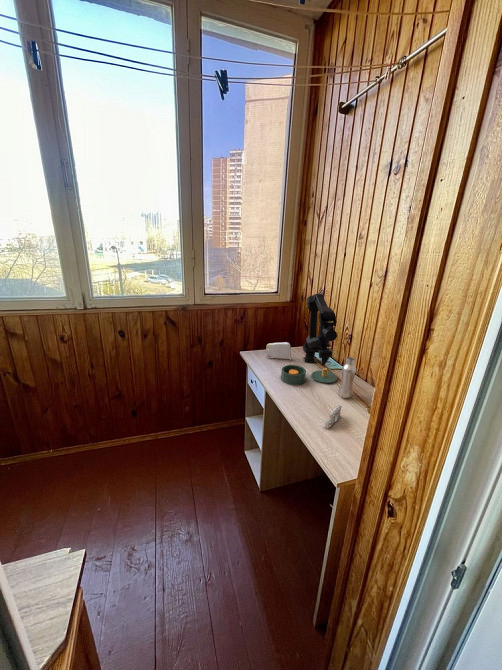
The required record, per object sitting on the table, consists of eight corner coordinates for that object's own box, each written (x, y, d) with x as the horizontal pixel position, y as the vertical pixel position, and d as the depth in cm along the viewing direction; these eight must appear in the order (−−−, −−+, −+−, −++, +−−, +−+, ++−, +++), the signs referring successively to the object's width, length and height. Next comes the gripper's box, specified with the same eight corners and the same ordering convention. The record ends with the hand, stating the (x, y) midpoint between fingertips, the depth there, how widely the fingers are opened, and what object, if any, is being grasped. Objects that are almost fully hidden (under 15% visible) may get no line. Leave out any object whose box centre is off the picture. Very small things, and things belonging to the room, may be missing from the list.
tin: (280, 373, 164) (281, 364, 162) (303, 374, 163) (304, 365, 161) (281, 384, 152) (282, 374, 150) (306, 385, 151) (307, 376, 149)
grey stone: (328, 429, 118) (330, 417, 116) (324, 427, 119) (325, 415, 117) (340, 416, 127) (342, 404, 125) (336, 414, 128) (338, 402, 126)
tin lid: (309, 371, 166) (310, 362, 164) (334, 372, 165) (335, 363, 163) (313, 383, 153) (314, 373, 151) (339, 384, 153) (340, 375, 151)
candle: (288, 375, 160) (288, 369, 158) (297, 376, 159) (297, 369, 158) (288, 380, 155) (289, 373, 154) (298, 380, 155) (298, 374, 153)
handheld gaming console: (267, 359, 185) (291, 358, 182) (267, 361, 183) (291, 360, 179) (266, 342, 182) (290, 342, 178) (265, 344, 179) (289, 343, 176)
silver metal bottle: (352, 394, 144) (358, 356, 137) (351, 401, 138) (358, 362, 131) (338, 391, 146) (343, 354, 139) (337, 398, 140) (343, 360, 133)
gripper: (306, 327, 160) (304, 354, 165) (311, 339, 142) (308, 368, 147) (327, 328, 159) (324, 354, 164) (334, 340, 141) (330, 370, 147)
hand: (321, 361), depth 156 cm, fingers open, 9 cm apart
